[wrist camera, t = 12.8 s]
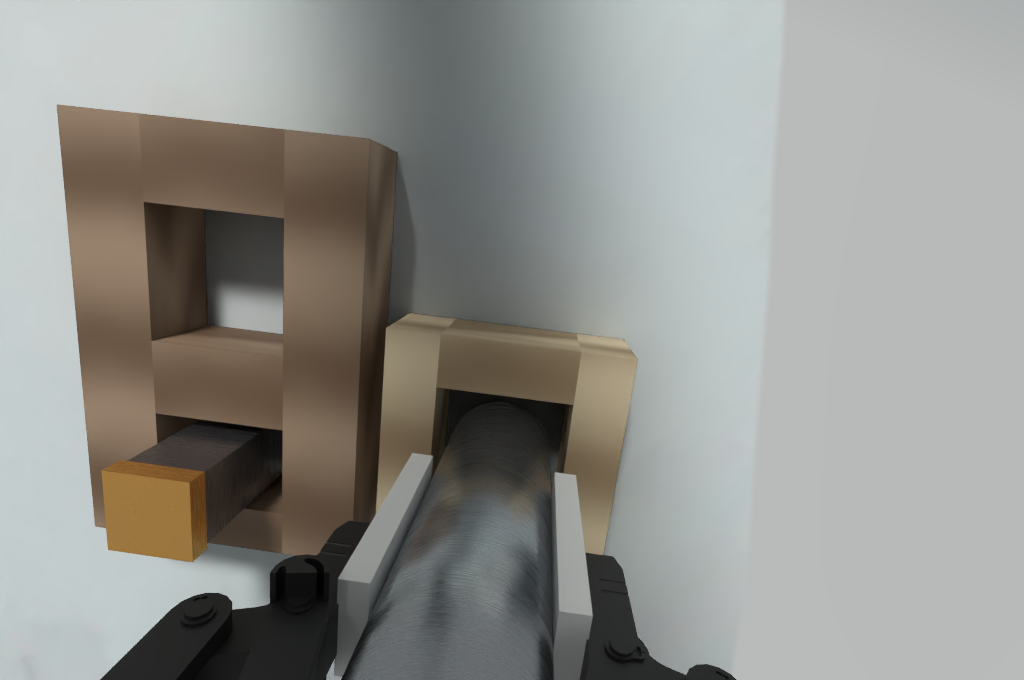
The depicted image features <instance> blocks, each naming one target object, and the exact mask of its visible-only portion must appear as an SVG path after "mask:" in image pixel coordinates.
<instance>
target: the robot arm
mask: <svg viewBox="0 0 1024 680" xmlns="http://www.w3.org/2000/svg"><path fill="white" fill-rule="evenodd" d="M432 464H433V456H431V455H423V454H416V453H412V455H411V456H410V458H409V460H408V461H407V463H406V465H405V466H404V468H403V470H402V471H401V473H400V475H399V476H398V478H397V480H396V482H395V483H394V485H393V487H392V488H391V490H390V492H389V493H388V495H387V497H386V498H385V500H384V502H383V503H382V505H381V507H380V509H379V510H378V512H377V514H376V515H375V517H374V519H373V520H372V522H371V523H363V522H356V521H347V522H346V523H344V524H343V525H341V526H340V527H338V528H337V529H335V530H334V532H333V533H332V534H331V536H330V537H329V539H328V540H327V543H325V544H324V546H323V547H322V549H321V550H320V553H318V554H317V555H309V554H305V555H297V556H293V557H291V558H288V559H285V560H283V561H282V562H280V563H279V564H277V565H276V566H275V567H274V569H273V570H272V571H271V573H270V604H268V605H265V606H260V607H254V608H245V609H235V610H232V601H231V600H230V599H229V598H228V597H227V596H225V595H222V594H220V593H204V594H200V595H196V596H193V597H190V598H188V599H186V600H184V601H182V602H180V603H179V604H178V605H176V606H175V607H174V608H172V609H171V610H170V611H169V612H168V613H167V614H166V615H165V616H164V617H163V618H162V619H161V620H160V621H159V622H158V623H157V624H156V625H155V626H154V627H153V628H152V629H151V630H150V631H149V632H148V633H147V634H146V635H145V636H144V637H143V638H142V639H141V640H140V641H139V642H138V643H137V644H136V645H135V646H134V647H133V648H132V649H131V650H130V651H129V652H128V653H127V654H126V655H125V656H124V657H123V658H122V659H121V660H120V661H119V662H118V663H117V664H116V665H115V666H114V667H113V668H112V669H111V670H110V671H109V672H108V673H107V674H106V675H105V676H103V677H102V678H101V679H100V680H326V675H327V673H328V671H329V669H330V667H331V665H332V663H333V661H334V659H335V667H334V675H336V676H342V677H343V674H344V672H345V670H346V668H347V666H348V663H349V661H350V659H351V657H352V655H353V652H354V650H355V648H356V646H357V644H358V641H359V639H360V637H361V635H362V632H363V630H364V628H365V626H366V624H367V621H368V619H369V617H370V615H371V613H372V610H373V608H374V606H375V604H376V601H377V599H378V597H379V595H380V593H381V590H382V588H383V586H384V584H385V582H386V579H387V577H388V575H389V573H390V571H391V568H392V566H393V564H394V562H395V559H396V557H397V555H398V553H399V551H400V548H401V546H402V544H403V542H404V540H405V537H406V535H407V533H408V531H409V529H410V526H411V524H412V522H413V520H414V517H415V515H416V513H417V511H418V509H419V506H420V504H421V502H422V500H423V498H424V495H425V493H426V491H427V489H428V487H429V484H430V482H431V477H432ZM551 545H552V609H553V658H554V680H736V679H735V678H734V677H733V676H732V675H731V674H729V673H727V672H726V671H724V670H722V669H720V668H718V667H715V666H711V665H708V664H703V665H695V666H694V667H692V668H690V669H689V671H688V673H687V675H684V674H682V673H679V672H677V671H675V670H672V669H670V668H668V667H666V666H664V665H662V664H660V663H658V662H657V661H656V660H654V659H653V658H652V657H651V656H650V655H649V652H648V649H647V648H646V646H645V645H644V643H643V642H642V641H641V640H640V639H639V638H638V636H637V632H636V628H635V623H634V619H633V614H632V610H631V605H630V601H629V596H628V592H627V587H626V585H625V578H624V574H623V569H622V568H621V567H620V565H619V564H618V563H617V561H616V560H615V559H614V557H613V556H606V555H598V554H591V553H585V547H584V538H583V530H582V522H581V513H580V505H579V496H578V488H577V480H576V475H571V474H564V473H557V472H555V473H554V480H553V487H552V494H551Z"/></svg>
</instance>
